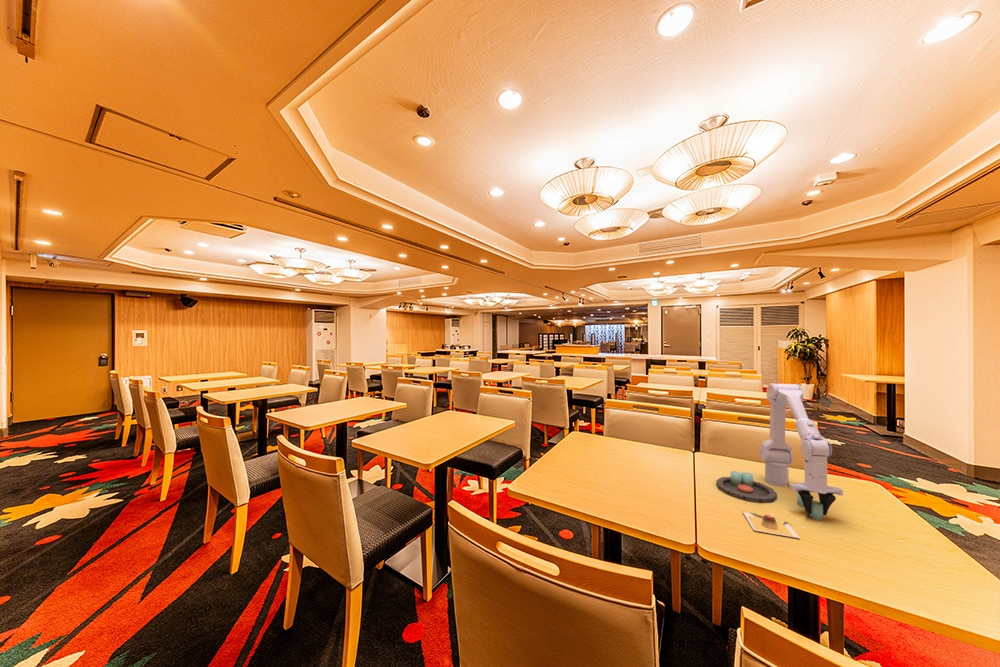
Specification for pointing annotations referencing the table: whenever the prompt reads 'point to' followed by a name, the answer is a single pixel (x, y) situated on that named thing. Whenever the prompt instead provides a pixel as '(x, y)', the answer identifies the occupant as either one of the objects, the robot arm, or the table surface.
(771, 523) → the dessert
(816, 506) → the grey green cylinder
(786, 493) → the table surface
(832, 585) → the table surface
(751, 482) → the pale green cylinder
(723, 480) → the ring tray
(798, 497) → the bead
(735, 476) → the bead
